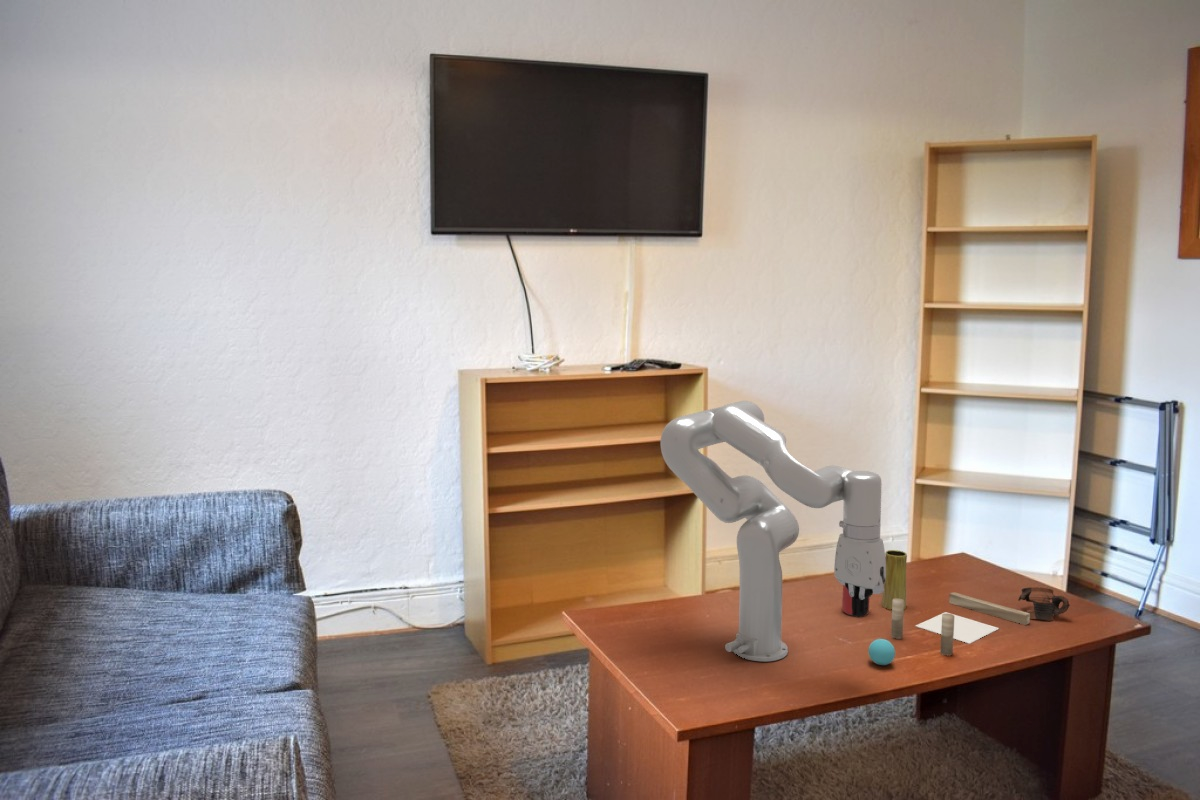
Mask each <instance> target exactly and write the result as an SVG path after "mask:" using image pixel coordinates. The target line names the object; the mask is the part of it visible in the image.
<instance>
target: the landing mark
mask: <svg viewBox="0 0 1200 800" xmlns="http://www.w3.org/2000/svg"><path fill="white" fill-rule="evenodd" d="M945 613H947V614H952V615H954V616H955V617H954V636H953V640H955V639H956V641H959V642H961V641H962V643H964V642H965V644H968V645H971V644H972V643H975V642H977V641H979V640H980V638H981V639H982V637H983V638H985V637H986V635H987V636H988V635H990V634H993V633H994V632H995V631H998V630H1000V628H999V627H997V626H993V625H990V624H987V623H983V622H980V621H976V620H974V619H971V618H967V617H963V616H960V615H957V614H953V613H952V612H951V613H950V612H946V611H945V612H942V613H941V614H938V615H935V616H934V617H932V618H931V617H930V619H927V620H925V621H923V622H920V623H918V624H916V625H915V626H914V627H916V628H919V629H922V630H924V629H925V631H928V632H931V633H934V634H937V633H938V634H937V635H940V634H941V629H942V614H945ZM984 636H985V637H984Z"/></svg>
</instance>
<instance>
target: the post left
mask: <svg viewBox="0 0 1200 800" xmlns="http://www.w3.org/2000/svg"><path fill="white" fill-rule="evenodd" d="M904 611H905V609H904V600H903V599H898V598H895V599H893V600H892V610H891V627H890V630H891V631H890V637H891V636H892V637H893V638H892V637H891V638H892V639H895V638H896V639H895V640H900V639H901V640H902V638H903V637H904V636H903V634H904Z"/></svg>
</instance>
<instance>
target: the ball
mask: <svg viewBox="0 0 1200 800" xmlns="http://www.w3.org/2000/svg"><path fill="white" fill-rule="evenodd" d="M868 656H869V658H870V659H871V661H872V662H873V663H875V664H876V665H879V666H887V665H889V664H891V663H892V662H893V661H894V659H895V657H896V650H895V647H894V645H893V644H892V642H890V641H889V640H888V639H884V638H877V639H874V640H873V641H872V642H871V643H870V645H869V647H868Z"/></svg>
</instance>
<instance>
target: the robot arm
mask: <svg viewBox="0 0 1200 800" xmlns="http://www.w3.org/2000/svg"><path fill="white" fill-rule="evenodd" d="M660 435H661V436H660V450H661V451H660V452H661V455H662V457H663V460H664V462H665V464H666V465H667V467H668V468H669V469H670V470H671V471H672V472H673V474H674V475H675V476H676V477H677V478H678V479H680V481H682V482H683V483H684V484H685V485H686V486H687V487H688V488H689V489H690V490H691V491H692V492H693V494H694V495H695V496H696V497H697V498H698V499H699V501H701V502H702V503H703V505H704V506H705V507H706V508H707V509H708V510H709V511H711V513H712V514H713V515H714V516H715V517H716V518H717V519H718V521H721V522H723V523H726V524H731V523H733V524H734V523H736V522H738V521H740V520H744V519H746V521H745V522H743V523H742V524H741V526H740V527H739V530H738V531H737V533H736V535H737V536H736V548H737V555H738V563H739V595H738V597H739V598H738V599H739V600H738V601H739V610H738V616H739V617H738V632H737V633H736V635H735V639H734V640H733V641H730V642H727V643H725V646H724V647H725V651H727V652H728V653H731V652H733V654H735V655H736V654H737V655H738V656H737V655H736V656H737V657H739V656H740V658H741V657H742V659H744V658H745V659H744V660H748V661H753V662H761V663H762V662H764V663H766V662H775V661H780V660H782V659H784V658H785V657H786V656H788V652H789V647H788V645H787V644H786V643H785V642H784V641H782V621H783V620H782V619H783V618H782V616H783V614H782V612H783V569H782V565H781V561H780V553H781V552H782V551H784V550H786V549H787V548H789V547H790V546H792V545H793V544H794V543H795V542H796V541H797V540H798V538H799V533H800V526H799V523H798V520H797V518H796V516H795V515H794V514H793V512H792V511H791V510H790V509H789V508H788V507H787V506H786V505H785V504H784V503H783V502H782V501H781V500H780V498H778V496H776V495H775V494H774V493H773V492H772V491H771V490H770V488H768V486H766V484H764V483H763V482H762V481H760V480H759V479H758V478H756V477H754V476H751V475H745V474H744V475H738V476H735V477H732V476H729V475H728V474H727V473H726V472H725V471H724V470H723V469H722V468H721V467H720V466H719V465H718V464H717V463H716V462H715V461H714V460H712V459H711V458H710V457H708V456H706V455H705V454H703V453H701V451H700V450H701V449H704V448H706V447H707V448H708V447H710V446H714V445H717V444H723V443H726V444H728V445H729V446H731V447H732V448H734V449H736V450H737V451H739V452H740V453H742V454H743V455H745V456H747V457H748V458H750V459H751V460H752V461H754V462H755V463H757V464H758V465H759V466H761V467H762V468H763V470H764V471H765V473H766V474H767V476H768V477H769V479H770V480H771V481H772V482H773V484H774V485H775V486H776V487H777V488H778V489H779V490H781V491H782V492H784V493H785V494H786V495H788V496H789V497H790V498H793V499H794V500H795V501H797V502H798V503H800V504H802V505H804V506H806V507H809V508H813V509H823V508H825V507H827V506H829V505H831V504H833V503H836V502H839V501H840V502H841V501H843V512H842V513H843V520H840V521H839V523H838V526H839V527H841V528H842V533H840V534H839V536H838V540H837V543H836V547H835V548H836V549H835V554H834V555H835V556H834V570H833V571H834V573H833V574H834V577H835V579H836V580H837V583H839V584H841V585H842V586H843V585H844V586H846V588H847V589H848V591H849V595H850V596H851V597H852V615H853V617H857V618H862V617H864V616H866V615H868V614H867V612H868V598H869V597H870V598H871V597H872V595H881V594H883V592H884V587H883V584H884V583H885V580H886V560H885V553H886V550H885V544H884V540H883V538H881V518H882V517H881V515H882V478H881V476H880V475H879V474H878V473H876V472H874V471H873V472H872V471H868V470H853V469H849V468H846V467H842V466H838V465H826V466H824V467H822V468H821V467H820V468H819V469H817V470H812V469H810V468H808V467H807V466H806V465H804V464H802V463H800V462H799V461H798V460H796V459H795V457H793V456H792V455H791V454H790V453H789V451H788V448H787V445H786V443H787V438H786V435H785V434H784V433H783V432H781V431H780V430H778V429H776V427H775V428H774V427H773V426H772V425H770V424H768V423H766V422H765V415H764V413H763V410H762V409H761V407H759V405H758V404H756V403H754V402H752V401H749V400H741V401H740V400H739V401H735V402H732V403H728V404H724V405H723V406H720V407H715V408H710V409H705V410H701V411H698V412H694V413H689V414H685V415H682V416H681V415H680V416H678V417H675V418H674V419H672V420H671V421H669V422H668V423H667V424H666V425H665V427H664V428H663V430H662V433H661V434H660ZM699 449H700V450H699ZM868 613H869V612H868ZM852 615H851V616H852Z"/></svg>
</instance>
